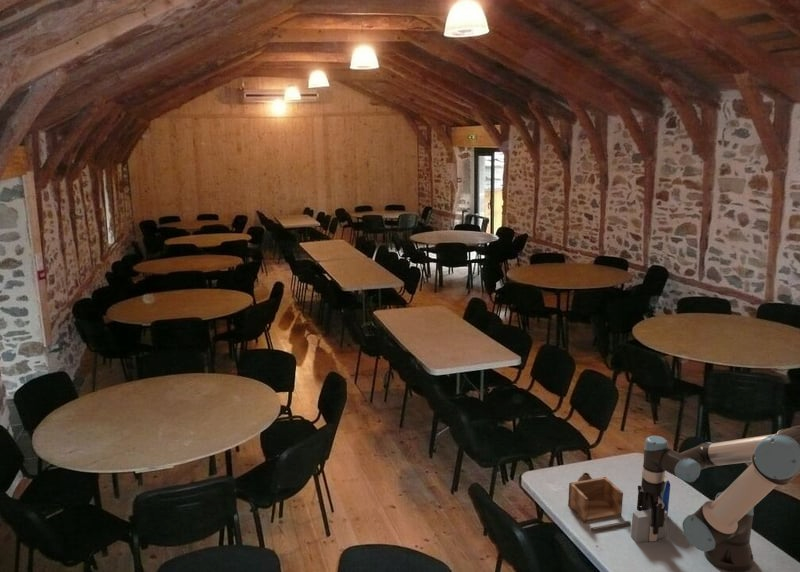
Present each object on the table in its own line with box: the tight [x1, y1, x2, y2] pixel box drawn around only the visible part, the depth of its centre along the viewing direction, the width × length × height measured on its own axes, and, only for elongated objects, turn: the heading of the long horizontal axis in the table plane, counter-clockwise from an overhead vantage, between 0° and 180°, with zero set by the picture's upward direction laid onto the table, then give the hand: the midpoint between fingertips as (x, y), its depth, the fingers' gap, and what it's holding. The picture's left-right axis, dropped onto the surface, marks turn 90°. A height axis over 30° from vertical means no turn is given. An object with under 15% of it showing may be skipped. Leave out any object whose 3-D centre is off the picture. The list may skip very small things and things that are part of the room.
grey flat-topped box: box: [630, 509, 669, 543], centre depth 237 cm, size 5×12×10 cm, turn 105°
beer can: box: [649, 475, 671, 513], centre depth 250 cm, size 8×8×16 cm
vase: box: [576, 472, 593, 482], centre depth 266 cm, size 7×7×9 cm
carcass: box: [567, 476, 632, 533], centre depth 251 cm, size 18×16×10 cm
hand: (648, 535), depth 239 cm, fingers open, 5 cm apart
